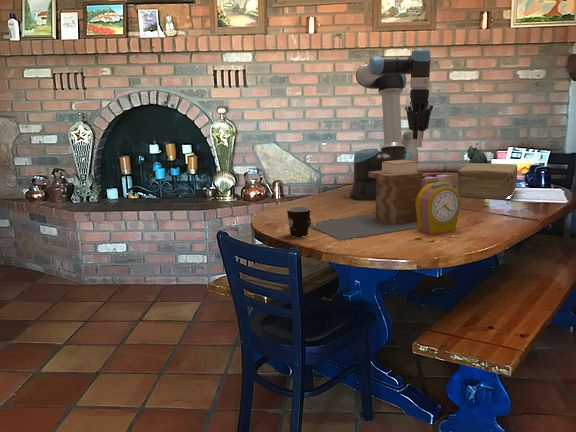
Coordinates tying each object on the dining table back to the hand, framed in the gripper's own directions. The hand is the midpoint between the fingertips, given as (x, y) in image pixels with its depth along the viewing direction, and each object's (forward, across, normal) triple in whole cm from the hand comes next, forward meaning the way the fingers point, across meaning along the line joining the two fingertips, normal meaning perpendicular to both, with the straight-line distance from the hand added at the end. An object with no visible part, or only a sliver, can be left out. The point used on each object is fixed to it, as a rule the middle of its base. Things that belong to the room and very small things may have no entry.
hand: (417, 146), depth 236 cm
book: (+8, -14, -6) cm, 17 cm away
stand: (+28, -16, -6) cm, 33 cm away
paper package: (+29, +58, +16) cm, 66 cm away
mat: (+28, -28, -6) cm, 40 cm away
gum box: (+29, +15, +8) cm, 33 cm away
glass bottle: (+29, +49, +66) cm, 87 cm away
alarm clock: (+29, -11, -26) cm, 40 cm away
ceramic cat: (+29, +87, +51) cm, 105 cm away
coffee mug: (+29, -60, -7) cm, 67 cm away
